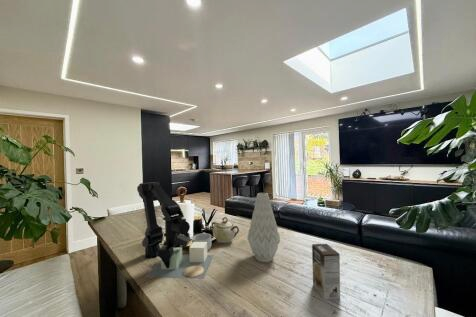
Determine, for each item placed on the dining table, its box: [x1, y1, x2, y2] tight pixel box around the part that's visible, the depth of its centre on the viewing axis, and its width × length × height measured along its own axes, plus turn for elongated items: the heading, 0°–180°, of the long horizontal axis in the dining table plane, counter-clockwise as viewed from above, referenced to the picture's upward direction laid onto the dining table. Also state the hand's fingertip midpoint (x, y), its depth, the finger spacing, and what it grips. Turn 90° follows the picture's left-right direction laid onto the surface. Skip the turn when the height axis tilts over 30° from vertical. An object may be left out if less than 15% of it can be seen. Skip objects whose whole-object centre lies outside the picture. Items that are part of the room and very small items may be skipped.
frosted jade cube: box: [160, 246, 183, 270], centre depth 96 cm, size 7×7×7 cm
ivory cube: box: [188, 242, 208, 262], centre depth 102 cm, size 7×7×7 cm
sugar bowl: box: [211, 216, 240, 244], centre depth 125 cm, size 20×15×15 cm
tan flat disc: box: [183, 266, 204, 277], centre depth 90 cm, size 9×9×1 cm
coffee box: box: [311, 243, 341, 300], centre depth 76 cm, size 9×6×16 cm
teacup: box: [191, 232, 212, 252], centre depth 114 cm, size 14×11×8 cm
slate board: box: [144, 254, 215, 280], centre depth 96 cm, size 26×21×1 cm
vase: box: [246, 192, 281, 263], centre depth 103 cm, size 17×17×33 cm
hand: (172, 262), depth 96 cm, fingers open, 9 cm apart
